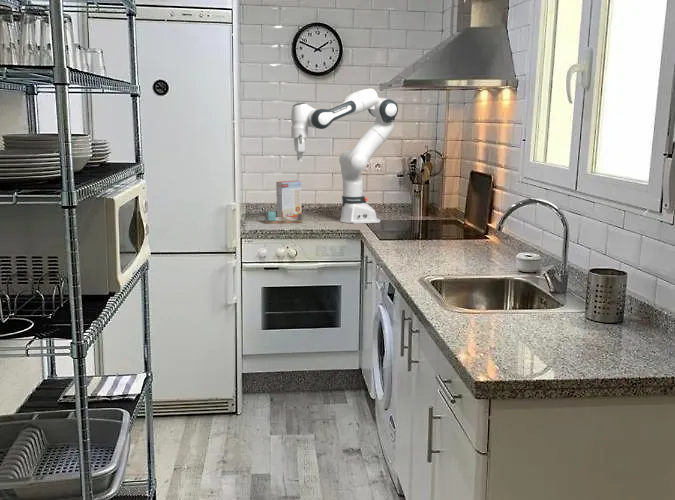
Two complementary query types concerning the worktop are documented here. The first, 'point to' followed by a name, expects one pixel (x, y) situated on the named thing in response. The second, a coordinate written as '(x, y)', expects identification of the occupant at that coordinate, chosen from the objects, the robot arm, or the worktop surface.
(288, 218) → the track
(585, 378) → the worktop surface
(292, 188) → the cracker box
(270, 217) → the teal slider block
